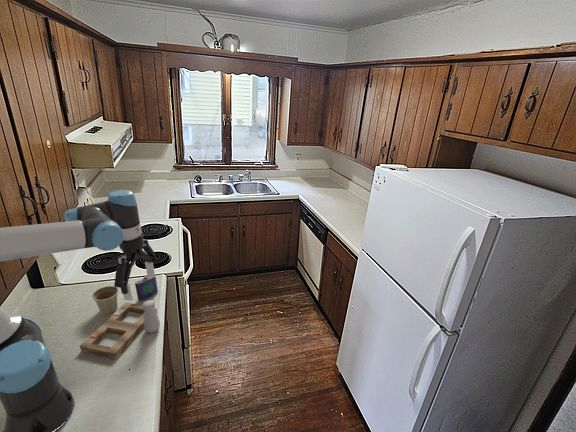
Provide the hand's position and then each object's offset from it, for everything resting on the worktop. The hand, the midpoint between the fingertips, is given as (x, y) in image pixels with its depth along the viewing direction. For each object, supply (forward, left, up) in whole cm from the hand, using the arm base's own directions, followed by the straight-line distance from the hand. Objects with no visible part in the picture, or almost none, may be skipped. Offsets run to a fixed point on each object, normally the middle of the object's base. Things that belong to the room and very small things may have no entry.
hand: (140, 287), depth 111 cm
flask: (+18, +12, -20) cm, 29 cm away
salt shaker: (0, -2, -20) cm, 20 cm away
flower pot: (+6, +22, -20) cm, 30 cm away
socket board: (-3, +9, -20) cm, 22 cm away
